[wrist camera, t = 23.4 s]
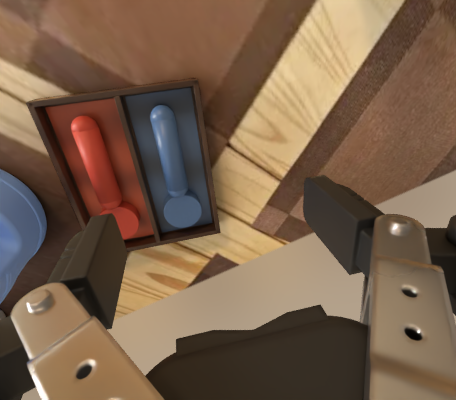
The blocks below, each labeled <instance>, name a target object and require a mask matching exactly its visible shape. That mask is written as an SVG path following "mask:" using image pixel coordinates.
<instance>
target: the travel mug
mask: <svg viewBox="0 0 456 400" xmlns="http://www.w3.org/2000/svg"><path fill="white" fill-rule="evenodd" d="M4 318H6V316H5V314H4V312H3V311H2V310H0V320H1V319H4Z"/></svg>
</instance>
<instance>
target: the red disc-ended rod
mask: <svg viewBox="0 0 456 400" xmlns="http://www.w3.org/2000/svg"><path fill="white" fill-rule="evenodd" d="M71 131H72V134H73V136H74V139H75V141H76V144H77V147H78V149H79V152H80V154H81V157H82V160H83V162H84V165H85V167H86V170H87V172H88V175H89V178H90V180H91V183H92V185H93V188H94V191H95V193H96V196H97V198H98V201H99V203H100V205H101V206H102V207H103V208H102V210H101V213H100V215H104V214H109V213H112V214H113V215H114V216H115V218H116V221H117V224H118V227H119V229H120V232H121V235H122V237H123V239H127V238H129V237H131V236H133V235H134V234H135V233H136V231H137V230H138V227H139V221H140V214H139V212H138V210H137V209H136V207H135V206H133V205H132V204H130V203H128V202H125V201H122V195H121V192H120V189H119V186H118V184H117V181H116V178H115V175H114V172H113V169H112V166H111V163H110V160H109V157H108V154H107V151H106V148H105V145H104V142H103V139H102V136H101V133H100V130H99V127H98V125H97V123H96V121H95V120H94V119H92V118H91V117H88V116H78V117H76V118H75V119H74V120H73V121H72V123H71Z"/></svg>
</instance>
